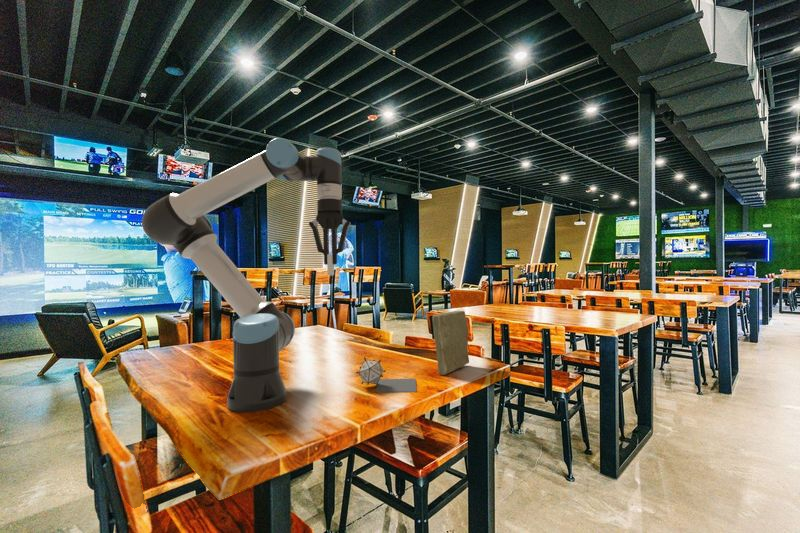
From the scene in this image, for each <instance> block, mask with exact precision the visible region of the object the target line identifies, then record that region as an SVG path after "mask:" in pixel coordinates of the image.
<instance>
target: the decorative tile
mask: <svg viewBox="0 0 800 533" xmlns="http://www.w3.org/2000/svg"><path fill="white" fill-rule="evenodd" d="M431 320H432V327H433V328H432V330H433V336H434V345H435V352H436V361H437V362H436V363H437V373H438V375H439V376H441V375H442V376H444V375H448V374H449V373H451V372H454V371H455V370H457V369H460V368H462V367H464V366H466V365H467V364H469V363H470V358H469V351H468V344H469V340H468V337H469V331H470V330H469V329H470V328H469V327H468V321H467V317H466V311H465V310H453V311H447V312H442V313H438V314H433V315H432V319H431Z"/></svg>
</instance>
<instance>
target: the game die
mask: <svg viewBox="0 0 800 533" xmlns="http://www.w3.org/2000/svg"><path fill="white" fill-rule="evenodd" d="M363 360H364V361H363V363H362V364H361V366H359V371H356V372H355V374H358V375H359V377H360V380H361V383H360V384H361V385H363V384H364V383H365V384H366V385H367V386H369V384H372V385H376V387H377V386H378V384H377V383H378V382H379V380H380V379H382V378H384V375H383V374H384V373H386V369H385V370H384V368H383V366H382V365H381V362H382V359H379V360H376V359H366V357H365V356H363Z"/></svg>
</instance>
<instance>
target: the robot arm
mask: <svg viewBox="0 0 800 533" xmlns="http://www.w3.org/2000/svg"><path fill="white" fill-rule="evenodd" d="M274 179H279V181H281V182H290V183H291V182H316V194H317V195H316V196H317V197H316V198H317V199H318V200H316V201H317V203H316V204H317V206H316V207H317V213H316V216H315V219H314V220H312V221H309V222H308V226H309V228H311V229H312V233H313V237H314V241H315V245H316V249H317V252H318V253H322V254H323V263H324V265H327V276H335V265H337V264H338V254H339V253H342V252H344V248H345V242H346V238H347V235H348V229H349V228H350V226H351V222H350V221H348V220H346V219H345V218H344V215H343V201H342V199H343V198H342V195H343V194H342V193H343V190H342V156H341V152H340V151H339V150H338V149H337V148H333V147H319V148H318V149H317V150H316V153H315V155H302V154H301V153H300V152H299V150H298V149H297V147H296V146H295V145H294V144H293V143H292V142H290V141H289V140H288V139H286V138H283V137H276V138H273V139H271V140H270V141H269V142H268V143H267V145H266V147H265V150H263V151H261V152H260V153H257V154H255V155H253V156H252V157H250V158H248V159H246V160H244V161H242V162H240V163H238V164H236V165H234V166H232V167H230V168H227V169H226V170H224V171H222V172H220V173H218V174H216V175H214V176H212V177H210V178H208V179H206V180H204V181H203V182H200V183H198V184H196V185H194V186H193V187H191V188H188V189H186V190H185V191H182V192H181V193H175V192H172V193H170V194H167V195H165V196H164V197H162V198H160V199H158V200H156V201H155V202H154V203H152V204H151V205H149V206H148V207H147V208H146V210H145V211H144V213H143V214H142V219H141V228H142V229H143V231H144V233H145V234H146V236H147V237H148V238H149V239H151V240H152V241H153V242H155V243H158V244H161V245H168V246H172V247H173V248H174V249H175V250H176V251H177V252H178V254H179V255H180V256H181V257H182V258H184V259H190V260H191V261H192V262H193V263H194V264H195V266H197V268H198V269H199V270H200V271H201V272H202V273H203V275H204V277H206V279H207V280H208V281H209V282H210V283H211V284H212V285H213V287H214V288H215V290H217V291H218V293H219V295H221V297H223V299H224V300H225V301H226V302H227V304H228V305H229V306H230V307H231V308H232V309H233V311H234V312H235V313H236V315H238V317H239V318H238V319H236V320H235V321H234V323H233V327H232V334H231V335H232V350H233V351H232V353H233V356H232V357H233V379H232V382H231V384H230V388H229V390H228V395H227V398H226V399H227V400H226V406H227V409H229V410H230V411H232V412H237V413H253V412H254V413H255V412H261V411H267V410H269V409H274V408H276V407H278V406H280V405H281V404H283V403H284V402H286V400H287V389H286V385H285V384H284V380H283V378H282V374H281V372H280V351H282V350H284V349H285V348H286V347H287V346H288V345H289V344H290V343H291V341H292V340H293V338H294V336H295V332H296V328H295V322H294V320H293V319H292V317H291V316H290V315H289V314H287V313H286V312H284V311H280V309H279V308H278V307H277V306H276V304H275V303H274V302H272V301H266V300H265V299H264V298H263V297H262V296H261V294H259V292H258V291H257V290H256V288H254V286H253V285H252V284H251V283H250V281H249V280H248V279H247V278H246V277H245V275H244V274H243V273H242V272H241V271H240V269H239V268H238V267H237V266H236V265H235V263H234V262H233V261H232V260H231V259H230V257H229V256H228V255H227V254H226V253H225V251H224V250H223V249H222V248H221V247H220V246H219V244H218V243H217V240H218V235H217V234H216V233H215V231H213V229H214V227H213V225H212V222H211V221H210V219H209V218H208V217H207V216H206V215H207V214H208V213H210V212H212V211H214V210H217V209H218V208H220V207H222V206H224V205H226V204H228V203H229V202H231V201H234V200H235V199H238V198H240V197H241V196H243V195H245V194H247V193H250V192H251V191H253V190H255V189H257V188H260V187H261V186H262V185H264V184H266V183H268V182H270V181H273V180H274ZM340 225H342V229H341V234H340V238H339V243H338V228H340ZM319 226H320V227H321V228H322V233H323V235H322V236H323V238H322V239H321V237H320V233H319V229H318V227H319ZM330 232H331V253H330V236H329V234H330ZM321 240H323V244H322V241H321Z"/></svg>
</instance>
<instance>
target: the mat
mask: <svg viewBox="0 0 800 533" xmlns="http://www.w3.org/2000/svg"><path fill="white" fill-rule="evenodd" d="M377 384H378V386H377V385H376V388H375V394H380V393H381V394H384V393H385V394H386V393H387V394H388V393H392V394H393V393H418V392H417V389H418V388H417V381H416V378H380V380H379V382H378V383H377Z"/></svg>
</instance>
